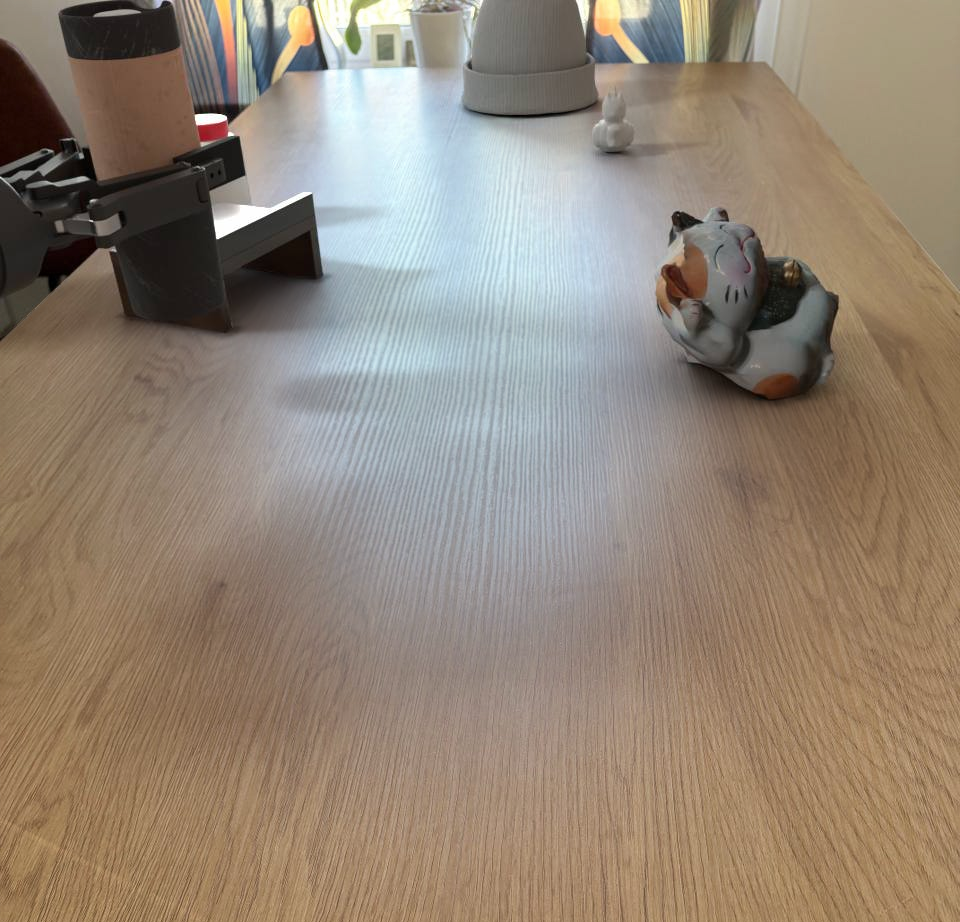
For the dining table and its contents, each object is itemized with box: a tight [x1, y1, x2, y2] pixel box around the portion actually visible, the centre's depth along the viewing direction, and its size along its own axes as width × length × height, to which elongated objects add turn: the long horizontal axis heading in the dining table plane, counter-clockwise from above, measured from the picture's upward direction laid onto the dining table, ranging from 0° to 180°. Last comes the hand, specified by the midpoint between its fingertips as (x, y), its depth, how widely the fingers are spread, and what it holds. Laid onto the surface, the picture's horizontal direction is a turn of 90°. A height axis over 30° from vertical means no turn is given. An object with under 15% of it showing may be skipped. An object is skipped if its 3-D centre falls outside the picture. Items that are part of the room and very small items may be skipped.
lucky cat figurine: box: [653, 206, 840, 401], centre depth 84 cm, size 15×12×14 cm
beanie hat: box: [460, 0, 599, 116], centre depth 163 cm, size 21×21×20 cm
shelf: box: [108, 191, 324, 334], centre depth 103 cm, size 12×16×8 cm
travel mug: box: [57, 0, 226, 322], centre depth 77 cm, size 8×8×20 cm
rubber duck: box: [591, 83, 635, 153], centre depth 139 cm, size 5×7×8 cm
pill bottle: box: [195, 113, 253, 206], centre depth 120 cm, size 8×8×11 cm
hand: (193, 150), depth 80 cm, fingers closed on travel mug, 8 cm apart
